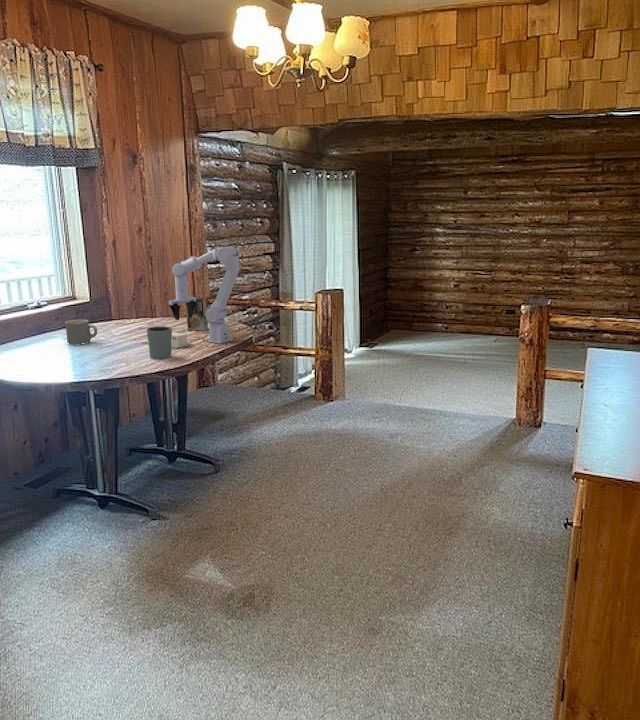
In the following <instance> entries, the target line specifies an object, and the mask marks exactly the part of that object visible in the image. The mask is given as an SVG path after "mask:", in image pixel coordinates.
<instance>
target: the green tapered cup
mask: <svg viewBox="0 0 640 720" xmlns="http://www.w3.org/2000/svg"><path fill="white" fill-rule="evenodd" d="M172 332H173V327H170V326H162V325H161V326H151V327H148V328H147V329H146V333H147V341H148V342H149V344H148V348H149V350H148V352H149V358H150V359H152V358H153V360H165V359H164V358H166V359H169V357H170V358H172V349H171V340H172Z"/></svg>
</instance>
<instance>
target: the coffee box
mask: <svg viewBox="0 0 640 720" xmlns="http://www.w3.org/2000/svg"><path fill="white" fill-rule="evenodd" d="M185 308H186V309H185V310H186V311H187V307H185ZM207 311H208V308H207V297H196V306H195V308H194V310H193V315H192V318H189V317H188V313H187V312H186V320H187V323H186V324H187V331H188V330H205V331H207V330H209V321H208V320H207V319H206V312H207ZM206 329H207V330H206Z"/></svg>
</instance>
